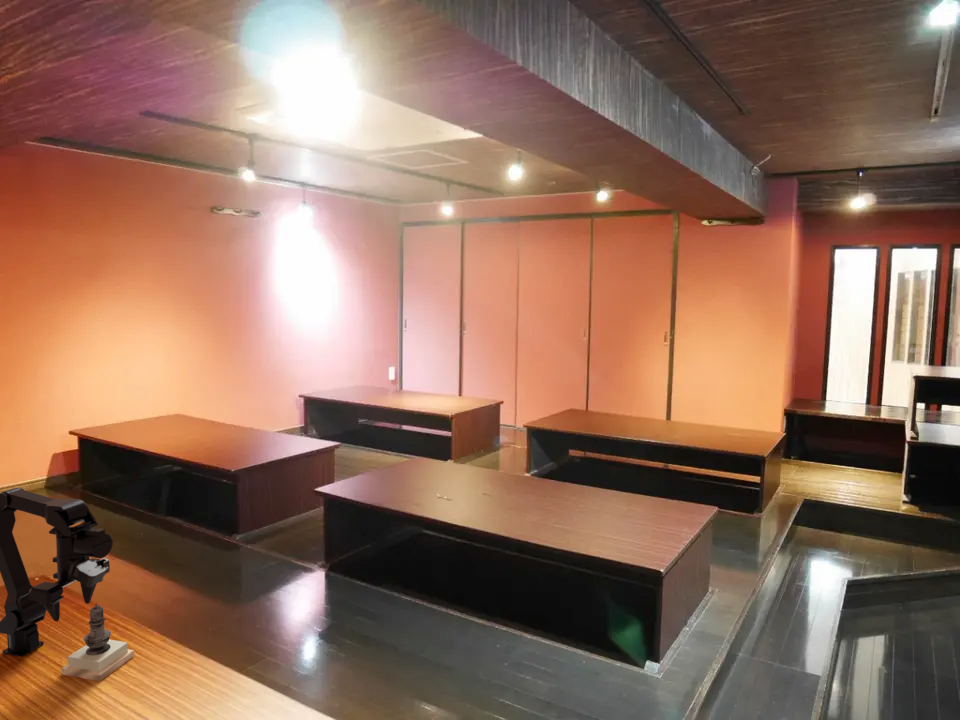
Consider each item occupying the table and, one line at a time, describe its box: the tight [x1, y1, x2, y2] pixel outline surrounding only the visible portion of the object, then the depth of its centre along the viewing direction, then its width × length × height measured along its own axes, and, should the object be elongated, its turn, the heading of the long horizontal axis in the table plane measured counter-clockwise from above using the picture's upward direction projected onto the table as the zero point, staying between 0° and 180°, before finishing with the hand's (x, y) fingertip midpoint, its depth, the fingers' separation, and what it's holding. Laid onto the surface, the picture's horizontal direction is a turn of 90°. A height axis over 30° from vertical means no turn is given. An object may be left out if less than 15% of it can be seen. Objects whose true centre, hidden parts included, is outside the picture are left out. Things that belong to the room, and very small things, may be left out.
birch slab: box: [61, 648, 135, 682], centre depth 158 cm, size 11×11×2 cm
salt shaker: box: [83, 602, 112, 655], centre depth 158 cm, size 6×6×12 cm
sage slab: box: [67, 639, 129, 672], centre depth 158 cm, size 9×9×2 cm
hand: (72, 611), depth 159 cm, fingers open, 9 cm apart
